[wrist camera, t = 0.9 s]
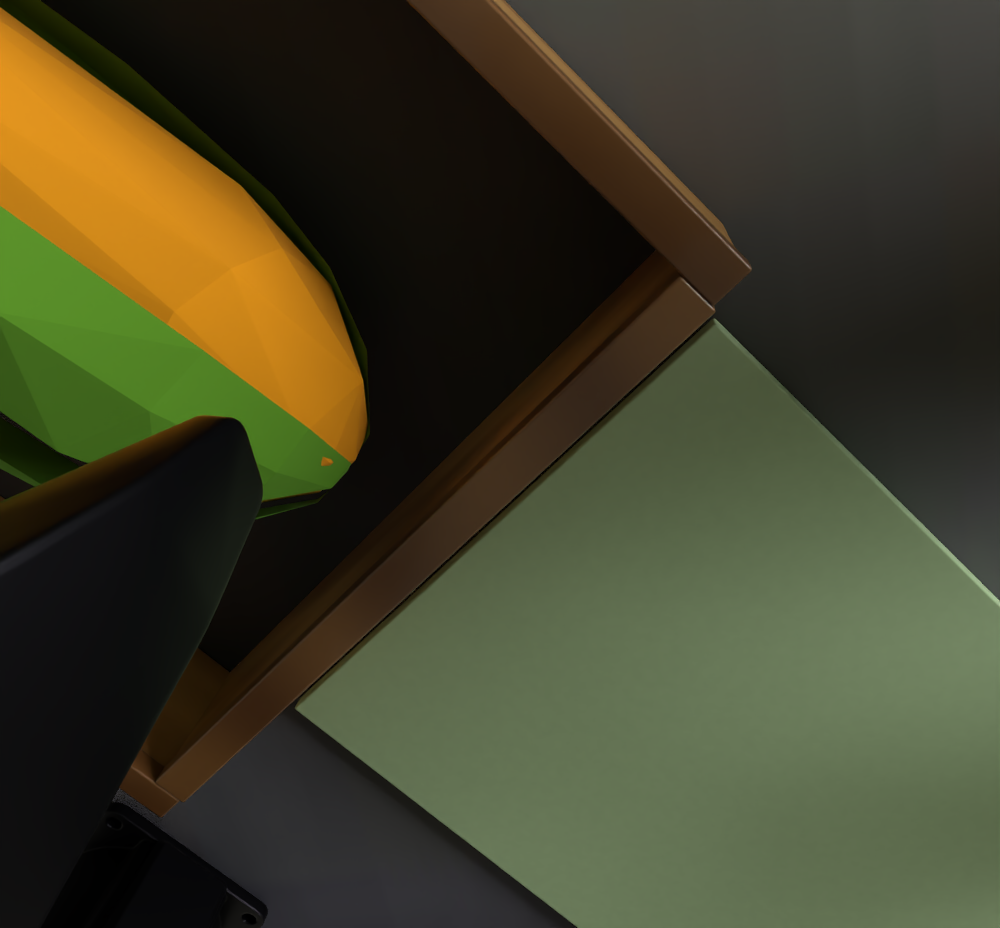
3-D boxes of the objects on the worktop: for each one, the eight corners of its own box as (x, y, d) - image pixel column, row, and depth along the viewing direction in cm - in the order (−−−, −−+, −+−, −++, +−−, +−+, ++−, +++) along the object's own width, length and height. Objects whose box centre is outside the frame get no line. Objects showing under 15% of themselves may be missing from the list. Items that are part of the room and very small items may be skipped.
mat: (841, 1118, 31) (843, 1134, 30) (299, 697, 26) (293, 709, 26) (1317, 915, 25) (1329, 931, 24) (713, 316, 20) (715, 322, 20)
